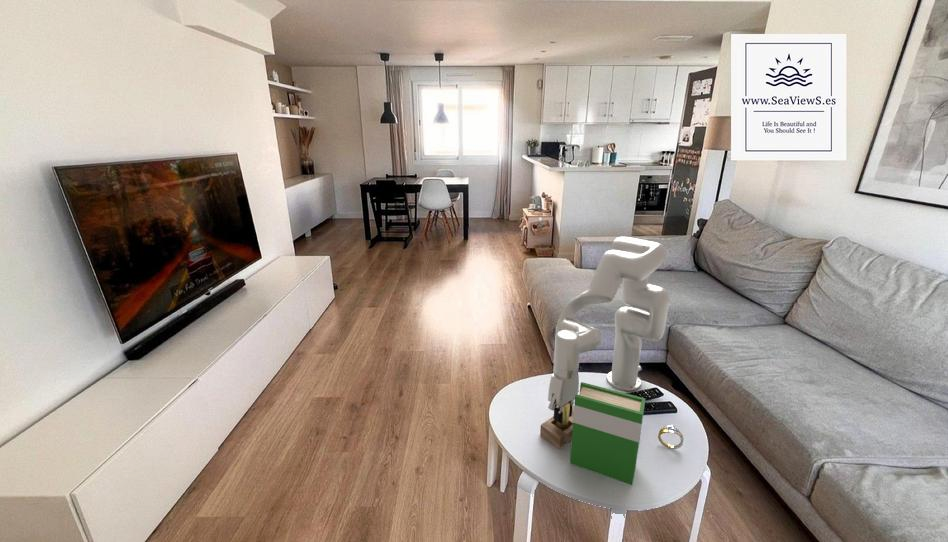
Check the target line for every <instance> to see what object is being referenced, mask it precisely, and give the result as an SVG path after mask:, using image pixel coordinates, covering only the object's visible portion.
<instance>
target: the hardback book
mask: <svg viewBox="0 0 948 542" xmlns="http://www.w3.org/2000/svg"><path fill="white" fill-rule="evenodd" d="M645 404H646V398H645V397H641V396H636V395H634V394H629V393H625V392H622V391H618V390H614V389H611V388H606V387H602V386H598V385H594V384H591V383H586V382H583V381H581V382H580V383H579V393H578V395H577V394H576V395H575V399H574V404H573V405H574V416H573V429H572V440H571V441H570V443H571V444H570V458H569V464H571V465H573V466H577V467H579V468H582V469H585V470H588V471H590V472H594V473H597V474H599V475H602V476H605V477H606V478H607V477H608V478H611V479H613V480H616V481H618V482H619V481H620V482H622V483H625V484H626V485H627V484H628V485H630V486H633V482H634V479H635V478H634V477H635V471H636V466H637V460H638V459H637V458H638V452H639V447H640V445H639V444H640V439H641V438H640V437H641V431H642V426H643V425H642V424H643V417H644V411H645V406H646V405H645Z"/></svg>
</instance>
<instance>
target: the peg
mask: <svg viewBox="0 0 948 542" xmlns="http://www.w3.org/2000/svg"><path fill="white" fill-rule="evenodd" d="M557 408H559V407H558V405H557ZM569 411H570V402H568V403H566V404H565V405H563V409H562V412H563V422H562V423H559V422H558V421H556V427H558V428H559V429H561V430H562V431H565V430H566V429H568V424H569Z"/></svg>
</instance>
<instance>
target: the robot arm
mask: <svg viewBox="0 0 948 542" xmlns="http://www.w3.org/2000/svg"><path fill="white" fill-rule="evenodd" d="M666 252H667V251H666V248H665V246H664V245H663V244H662V243H659V242H657V241H651V240H646V239H640V238H636V237H630V236H619V237H616V238H615V239H614V240H613V242H612V249H609V250H606V251H605V252H604V253H603V254H602V256H601V258H600V261H599V263H598V264H597V267H596V269H595V271H594V274H593V276H592V278H591V280H590V282H589V285H588V286H587V289H586V290H584V291H583V292H581V293H579V294H578V295H576V296H574V298H572V299H571V300H570V301H568V303H566V305H565V306H564V308H563V310H562V312H561V314H560V316H559V318H558V320H557V324H556V327H555V337H554V353H553V354H554V356H553V370H552V371H553V373H552V374H551V376H550V381H549V387H548V393H547V394H548V395H547V400H548V401H549V404H548V407H547V408H548V409H549V410H551V411H553V416H554V420H556V421H558V422H559V423H562V422H563V412H562V409H563V405H565V404H566V403H568V402H570V411H569V417H571V416H572V406H573V405H574V403H575V395H576V394H577V395H579V393H580V382H579V381H580V376H579V370H580V369H579V366H580V356H581V354H583V353H587V352H590V351H594V350H596V349H597V348H598V347H599V346H600V344H601V342H602V339H603V338H602V337H603V336H602V333H601V331H600V330H599V329H598V328H596V327H594V326H591V325H588V324H586V323H583V322H581V321H578V320H576V319H575V318H576V316H577V315H578V313H579V312H580V311H582V310H583V309H585V308H586V307H589V306H594V305H599V304H601V305H602V304H609V303H611V302H612V301H613V300H614V299H615V296H616V294H617V291H618V289H619V287H620V285H621V282H622V285H621V300H622V302H623V303H624V304H625V306H621V307H620V308H618V309H617V310H616V311H615V314H614V327H615V328H614V329H615V330H614V331H615V337H614V347H613V357H612V365H611V371H610V372H608V373H607V375H606V381H607V383H608V384H609V385H610V386H611V387H613V388H615V389H618V390H621V391H624V392H625V391H627V392H629V391H631V392H632V391H636V390H638V389H639V388H640V387H641V383H642V382H641V378H640V377H639V376H638V375H639V372H640V371H642V369H643V368H642V367H641V365H640V358H641V350H642V340H641V339H642V338H643V339H644V340H647V341H652V342H658V341H660V340H661V339H662V338H663V336H664V335H665V330H666V326H667V318H668V313H669V312H668V311H669V305H670V295H669V292H668V290H667V289H665V288H664V287H662V286H659V285H654V284H651V283H650V282H649V278H650V275H651V274H653V272H655V271H657V270H658V268H660V267H661V266H662V264H663V263H664V262H665V259H666V254H667V253H666ZM626 305H627V306H626ZM557 405H558V407H559V408H557Z"/></svg>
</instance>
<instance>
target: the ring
mask: <svg viewBox="0 0 948 542" xmlns="http://www.w3.org/2000/svg"><path fill="white" fill-rule="evenodd" d="M667 433H672V434H675V435H677V436H679V438H680V442H679V443H678V444H676V445H671V444H670V443H666V442H665V441H664V440H663V439H662V437H661V436H662V435H664V434H667ZM657 434H658V435H657V439H658V441H659V442H660V443H661V445H663V446H664V447H666V448H667V449H668V450H670V449H671V450H677V449H680V448H681V447H682V446H683V445H684V440H685V439H684V438H685V437H684V436H683V433H682V432H681V431H680V429H678V427H676V426H675V425H673V424H671V425H665V426H663V427H661V428H660V429H659V432H658V433H657Z"/></svg>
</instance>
